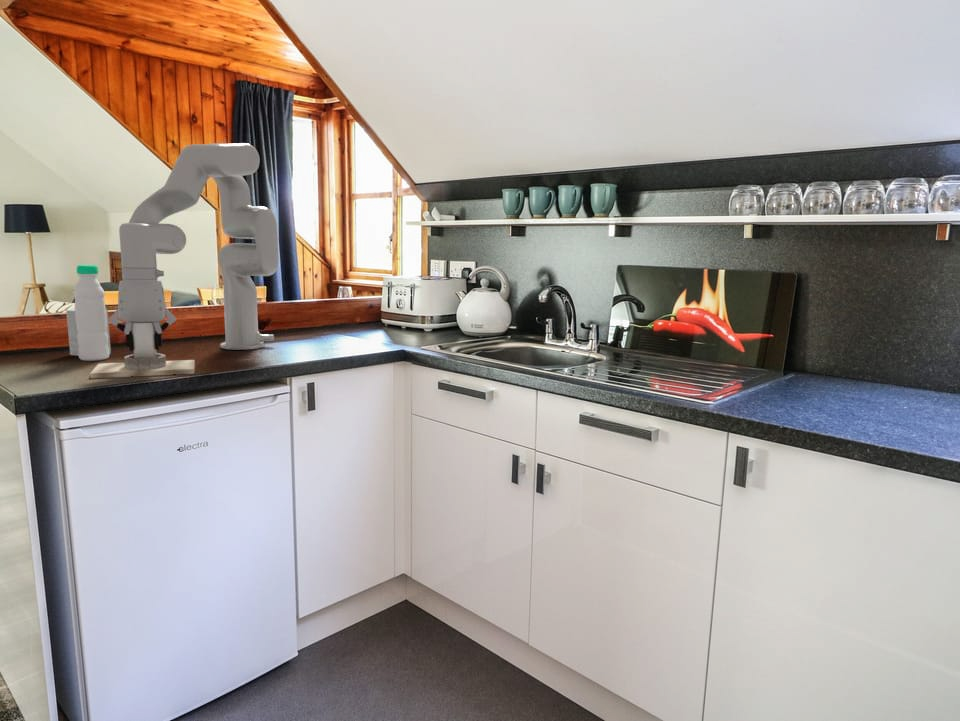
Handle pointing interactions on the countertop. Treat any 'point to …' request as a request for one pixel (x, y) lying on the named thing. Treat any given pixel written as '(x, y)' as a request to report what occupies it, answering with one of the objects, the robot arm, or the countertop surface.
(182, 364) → the board
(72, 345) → the supplement box
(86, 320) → the milk bottle
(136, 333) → the white round post
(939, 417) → the countertop surface
